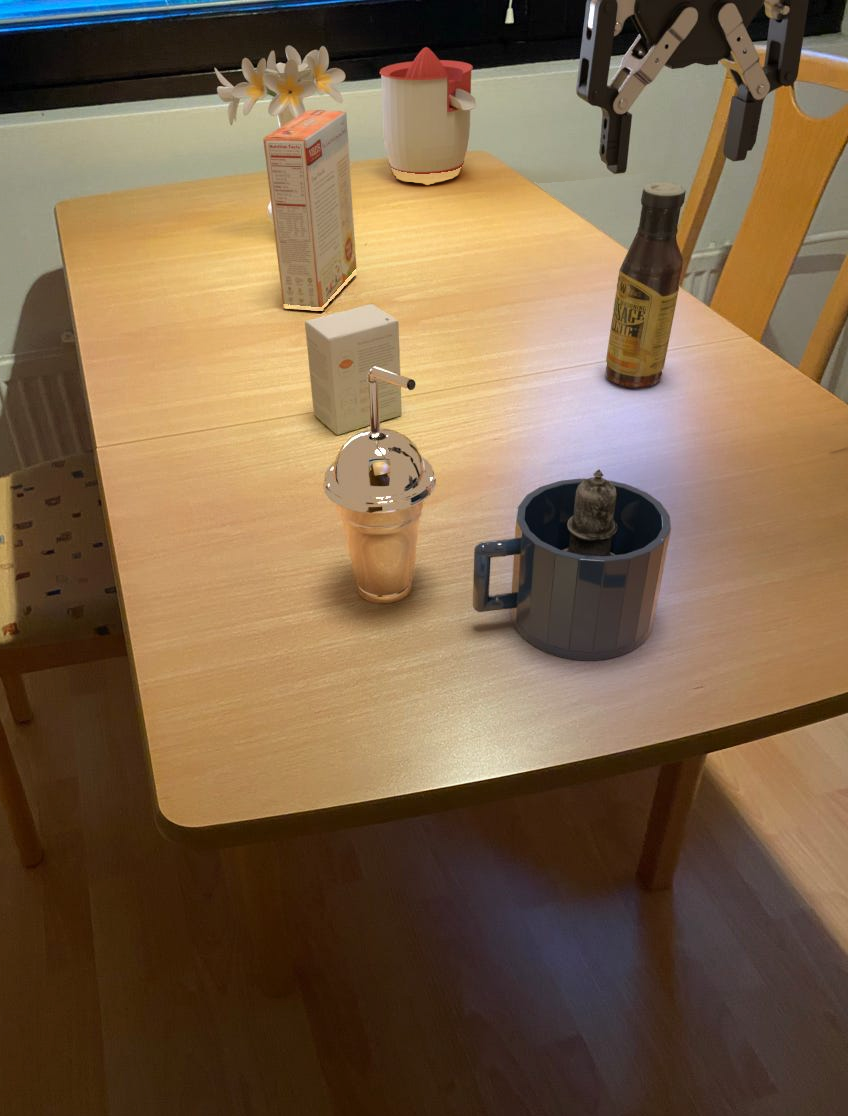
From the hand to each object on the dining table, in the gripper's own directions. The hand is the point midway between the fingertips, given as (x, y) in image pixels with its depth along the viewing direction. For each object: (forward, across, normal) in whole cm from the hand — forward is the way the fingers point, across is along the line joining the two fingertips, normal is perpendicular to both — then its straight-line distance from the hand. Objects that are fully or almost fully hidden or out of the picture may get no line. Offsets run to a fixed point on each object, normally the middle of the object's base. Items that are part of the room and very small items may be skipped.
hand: (675, 164), depth 67 cm
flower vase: (+29, -22, +87) cm, 94 cm away
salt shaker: (+28, -8, -13) cm, 32 cm away
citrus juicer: (+29, +4, +112) cm, 116 cm away
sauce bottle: (+29, +10, +26) cm, 40 cm away
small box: (+29, -21, +24) cm, 43 cm away
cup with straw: (+28, -23, -6) cm, 37 cm away
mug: (+28, -10, -13) cm, 33 cm away
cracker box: (+29, -21, +61) cm, 71 cm away
